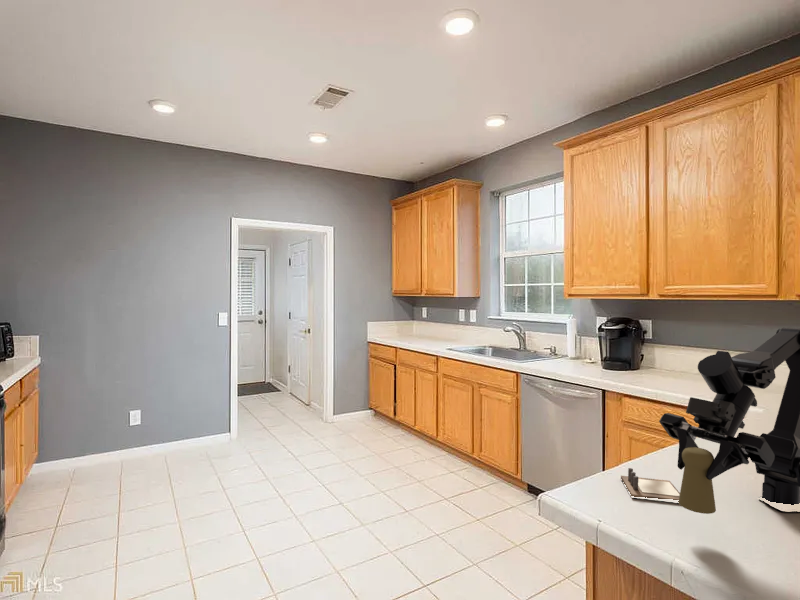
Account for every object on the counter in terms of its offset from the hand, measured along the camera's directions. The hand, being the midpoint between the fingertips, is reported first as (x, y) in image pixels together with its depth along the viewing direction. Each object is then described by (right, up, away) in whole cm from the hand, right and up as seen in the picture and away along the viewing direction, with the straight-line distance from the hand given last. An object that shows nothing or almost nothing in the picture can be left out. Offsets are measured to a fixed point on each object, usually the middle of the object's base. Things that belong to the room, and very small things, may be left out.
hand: (693, 473), depth 87 cm
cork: (+1, -7, +1) cm, 7 cm away
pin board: (+4, -12, +21) cm, 25 cm away
